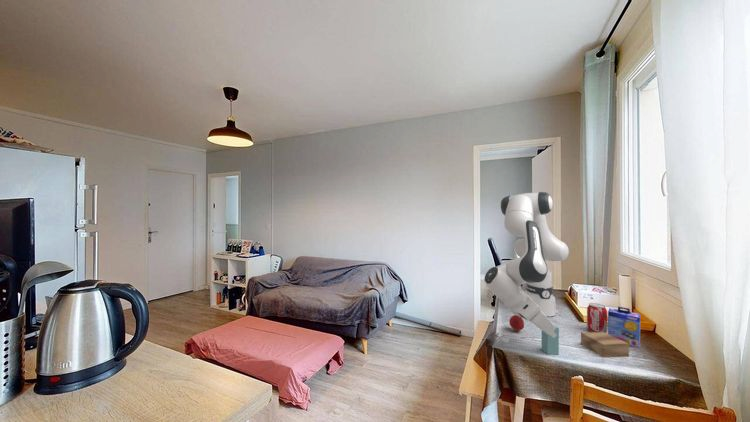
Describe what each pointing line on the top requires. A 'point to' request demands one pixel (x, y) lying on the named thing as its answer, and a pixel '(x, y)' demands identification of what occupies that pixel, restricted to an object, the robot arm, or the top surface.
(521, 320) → the onion
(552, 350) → the teal block
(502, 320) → the top surface
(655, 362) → the top surface
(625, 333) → the ink cartridge box
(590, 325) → the soda can
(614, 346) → the walnut block
